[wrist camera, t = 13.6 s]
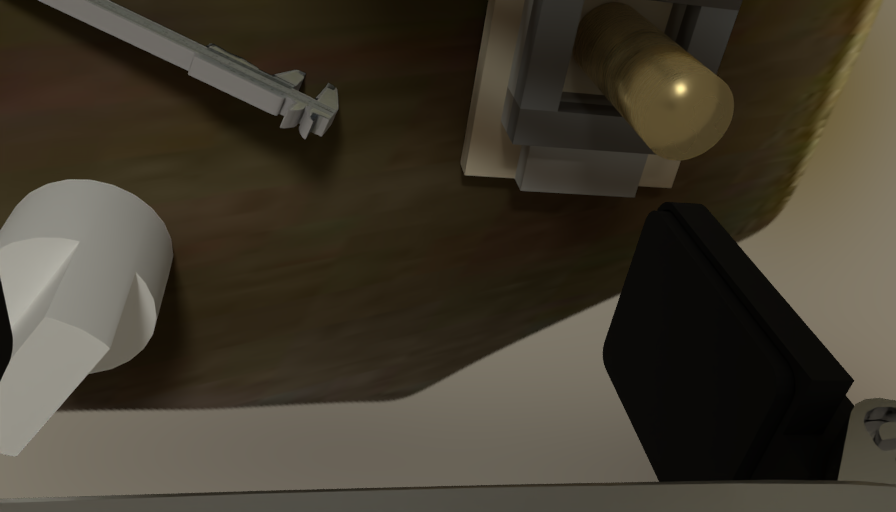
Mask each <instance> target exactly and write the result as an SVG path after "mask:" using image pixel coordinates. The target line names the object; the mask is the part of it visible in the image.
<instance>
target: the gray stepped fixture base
mask: <svg viewBox="0 0 896 512" xmlns="http://www.w3.org/2000/svg"><path fill="white" fill-rule="evenodd" d="M610 2H620V3H624V4H627V5H629V6H631V7H632V8H634V9H635V10H636V11H637V12H639V13H640V14H641V15H642V16H644V17H645V18H646V19H647V20H648V21H650V22H651V23H652V24H653V25H655V26H656V27H657V28H658V29H660V30H661V31H662V32H663V33H665V34H666V35H667V36H668V37H670V38H671V39H672V40H673V41H675V42H676V43H677V44H678V45H680V46H681V47H682V48H683V49H684V50H686V51H687V52H688V53H689V54H691V55H692V56H693V57H694V58H696V59H697V60H698V61H699V62H701V63H702V64H703V65H704V66H706V67H707V68H708V69H709V70H711V71H712V72H713V73H714V74H717V71H718V68H719V65H720V62H721V60H722V57H723V54H724V51H725V48H726V45H727V43H728V40H729V37H730V34H731V31H732V28H733V25H734V23H735V20H736V17H737V14H738V11H739V8H740V6H741V3H742V0H488V6H487V12H486V18H485V23H484V29H483V35H482V41H481V47H480V52H479V58H478V64H477V70H476V76H475V81H474V87H473V93H472V99H471V104H470V110H469V116H468V122H467V128H466V133H465V139H464V145H463V151H462V157H461V162H460V164H461V167H462V169H463V172H464V175H469V176H485V177H501V178H515V180H516V183H517V185H518V187H519V189H520V191H532V192H549V193H566V194H583V195H600V196H617V197H634V198H635V194H636V191H637V188H638V186H645V187H661V188H672V185H673V182H674V179H675V176H676V173H677V170H678V167H679V165H680V162H681V160H679V161H676V160H668V159H664V158H662V157H660V156H658V155H657V154H655V153H654V152H653V151H652V150H651V149H650V148H649V147H648V145H647V144H646V143H645V142H644V141H643V140H642V138H641V137H640V136H639V135H638V134H637V133H636V132H635V130H634V129H633V128H632V127H631V126H630V125H629V123H628V122H627V121H626V120H625V119H624V118H623V117H622V115H621V114H620V113H619V112H618V111H617V110H616V108H615V107H614V106H613V105H612V104H611V103H610V101H609V100H608V99H607V98H606V97H605V96H604V95H603V93H602V92H601V91H600V90H599V89H598V88H597V86H596V85H595V84H594V83H593V82H592V81H591V79H590V78H589V77H588V76H587V75H586V74H585V73H584V71H583V70H582V69H581V68H580V67H579V65H578V64H577V63H576V61H575V59H574V56H573V51H572V50H573V45H574V41H575V37H576V33H577V29H578V25H579V23H580V21H581V20H582V19H583V17H584V16H585V15H586V14H587V13H589V12H590V11H591V10H592V9H594V8H596V7H598V6H600V5H602V4H605V3H610Z"/></svg>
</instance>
